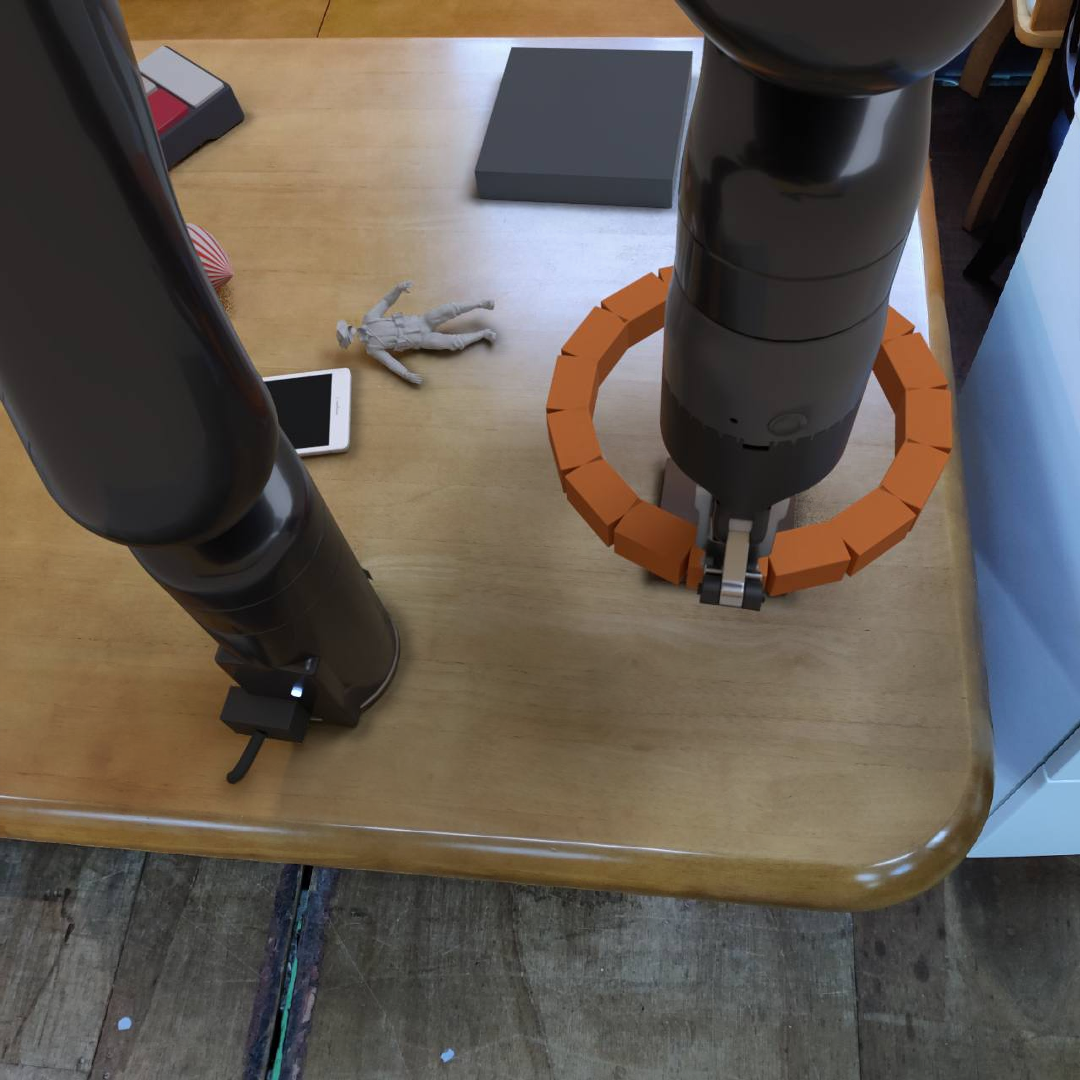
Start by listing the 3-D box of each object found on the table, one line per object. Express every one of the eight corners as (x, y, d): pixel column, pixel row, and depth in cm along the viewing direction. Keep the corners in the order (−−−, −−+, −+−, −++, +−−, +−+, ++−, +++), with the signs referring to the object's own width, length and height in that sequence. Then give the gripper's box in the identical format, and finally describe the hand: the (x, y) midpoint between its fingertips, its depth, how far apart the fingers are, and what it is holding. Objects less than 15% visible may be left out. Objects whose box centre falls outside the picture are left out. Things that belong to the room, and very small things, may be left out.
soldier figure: (500, 378, 75) (348, 389, 71) (482, 375, 80) (338, 385, 76) (495, 277, 74) (338, 282, 70) (476, 279, 78) (329, 284, 74)
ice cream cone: (135, 270, 90) (270, 308, 80) (70, 277, 86) (204, 319, 75) (126, 201, 87) (265, 231, 77) (59, 205, 83) (196, 238, 72)
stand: (671, 208, 81) (672, 179, 79) (479, 198, 84) (474, 170, 82) (691, 80, 89) (692, 50, 87) (515, 75, 92) (511, 46, 90)
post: (787, 594, 63) (820, 486, 51) (651, 579, 65) (653, 470, 53) (794, 480, 67) (826, 356, 55) (666, 468, 69) (671, 345, 57)
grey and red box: (37, 125, 89) (161, 36, 93) (63, 162, 93) (181, 75, 97) (101, 173, 85) (228, 78, 89) (126, 210, 89) (247, 116, 93)
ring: (942, 621, 48) (956, 600, 46) (519, 567, 51) (514, 545, 49) (936, 298, 58) (947, 269, 56) (584, 272, 62) (582, 244, 59)
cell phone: (155, 395, 76) (152, 390, 76) (352, 371, 76) (350, 366, 75) (143, 476, 73) (139, 471, 72) (349, 452, 72) (347, 447, 71)
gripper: (684, 213, 39) (669, 455, 54) (638, 501, 32) (635, 684, 47) (875, 225, 38) (805, 469, 53) (867, 527, 31) (790, 707, 46)
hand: (725, 570), depth 50 cm, fingers closed on ring, 2 cm apart
